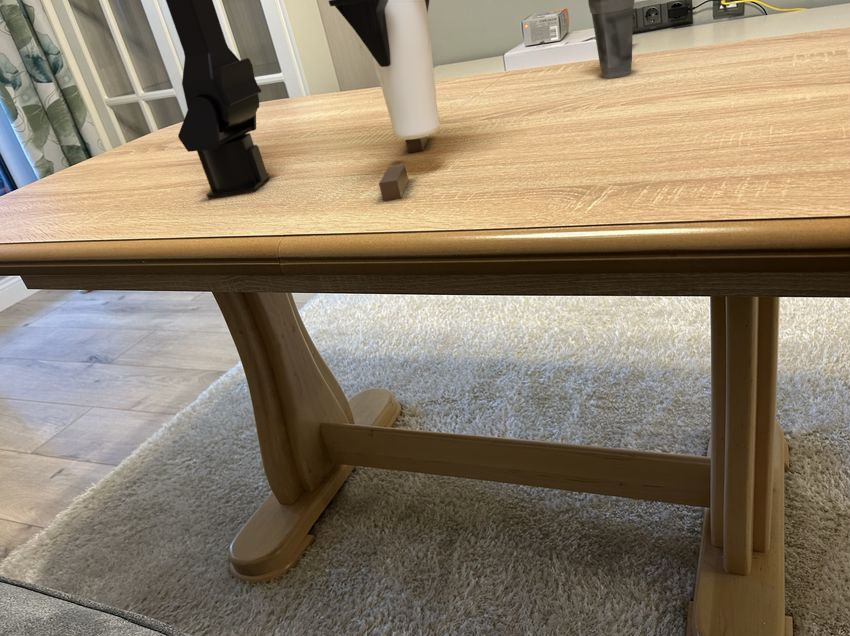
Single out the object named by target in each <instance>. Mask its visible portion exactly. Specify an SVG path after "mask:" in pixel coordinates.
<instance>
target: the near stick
mask: <svg viewBox="0 0 850 636" xmlns="http://www.w3.org/2000/svg"><path fill="white" fill-rule="evenodd" d="M409 181H410V180H409V175H408V172H407V168H406V164H403V163H402V164H397V165H392V166H387V168H386V170H385V172H384V174H383V176H382V177H381V179H380V181H379V183H378V186H379V189H380V193H381V196H382V201H392V200H398V199H401V198H402V197H403V194H404V192H405V190H406V187H407V186H408V184H409Z"/></svg>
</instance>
